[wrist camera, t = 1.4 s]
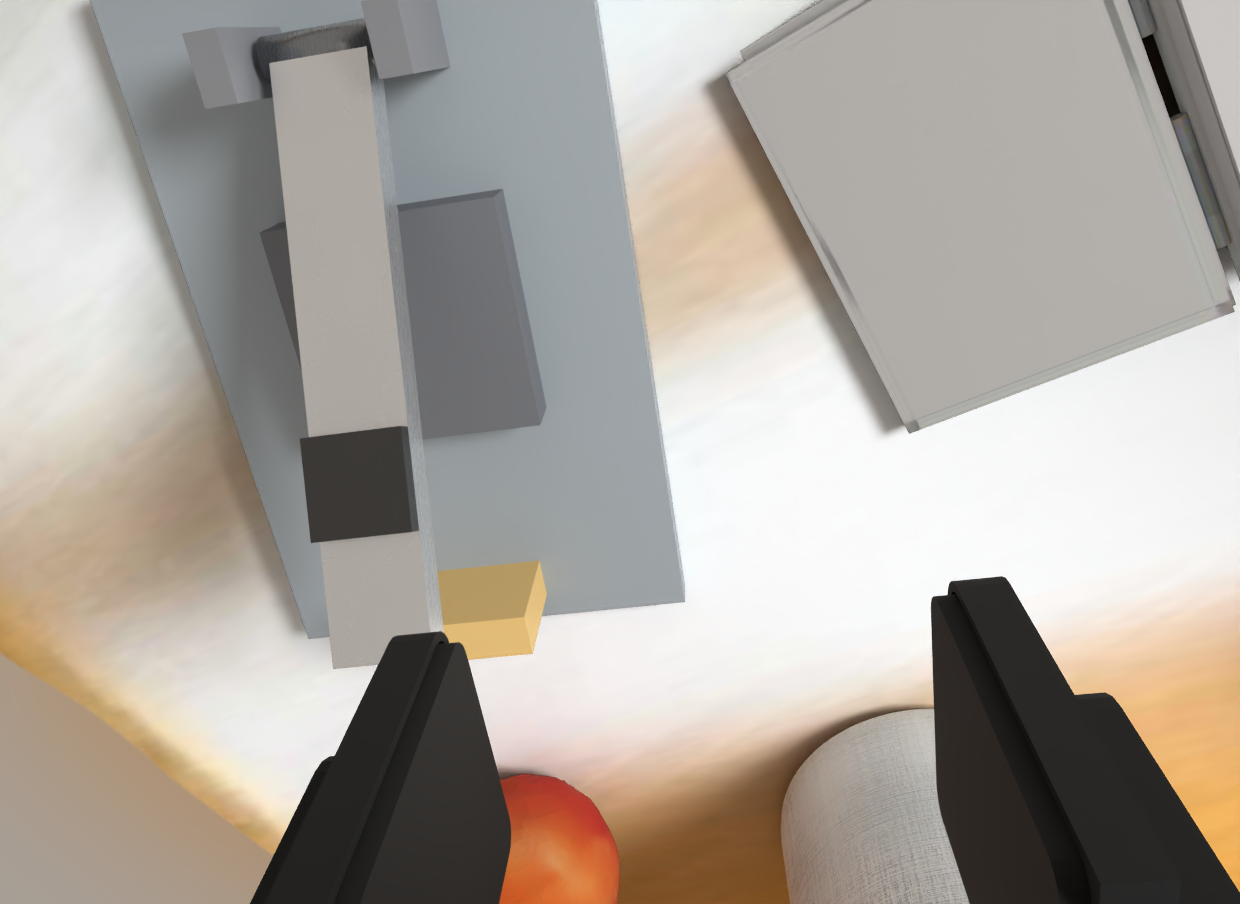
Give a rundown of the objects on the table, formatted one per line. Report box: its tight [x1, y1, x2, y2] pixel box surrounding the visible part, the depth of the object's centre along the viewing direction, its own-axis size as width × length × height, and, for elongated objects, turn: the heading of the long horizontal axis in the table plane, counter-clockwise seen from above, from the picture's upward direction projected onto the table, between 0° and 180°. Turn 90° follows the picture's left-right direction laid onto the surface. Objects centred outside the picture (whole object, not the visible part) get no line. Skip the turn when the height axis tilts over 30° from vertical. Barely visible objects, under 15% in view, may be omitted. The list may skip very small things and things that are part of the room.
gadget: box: [725, 0, 1240, 434], centre depth 30 cm, size 23×15×4 cm, turn 121°
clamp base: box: [90, 0, 685, 660], centre depth 33 cm, size 25×16×6 cm, turn 9°
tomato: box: [499, 774, 619, 904], centre depth 42 cm, size 9×9×8 cm
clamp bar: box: [256, 18, 444, 669], centre depth 28 cm, size 19×4×2 cm, turn 9°
